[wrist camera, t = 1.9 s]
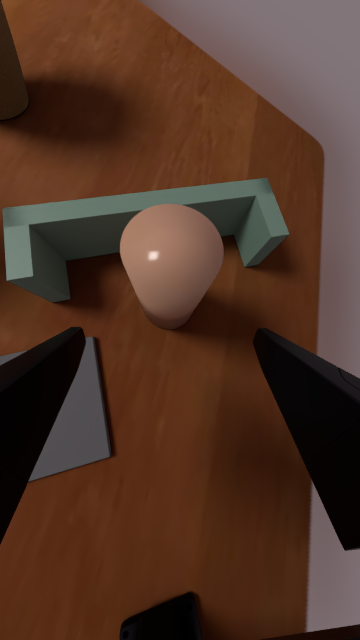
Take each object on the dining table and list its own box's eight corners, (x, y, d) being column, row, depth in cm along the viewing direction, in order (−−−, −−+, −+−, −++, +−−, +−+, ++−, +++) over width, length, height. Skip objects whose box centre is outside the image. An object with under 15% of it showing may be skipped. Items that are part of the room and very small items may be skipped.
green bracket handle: (258, 264, 24) (289, 234, 18) (52, 302, 20) (6, 280, 14) (242, 220, 25) (267, 178, 19) (46, 248, 22) (2, 208, 16)
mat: (111, 453, 18) (109, 456, 17) (-23, 493, 16) (-30, 499, 16) (94, 337, 20) (92, 336, 19) (-25, 362, 18) (-32, 363, 18)
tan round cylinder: (198, 323, 21) (236, 285, 10) (149, 334, 20) (130, 306, 9) (186, 277, 22) (208, 198, 11) (139, 286, 22) (112, 210, 10)
